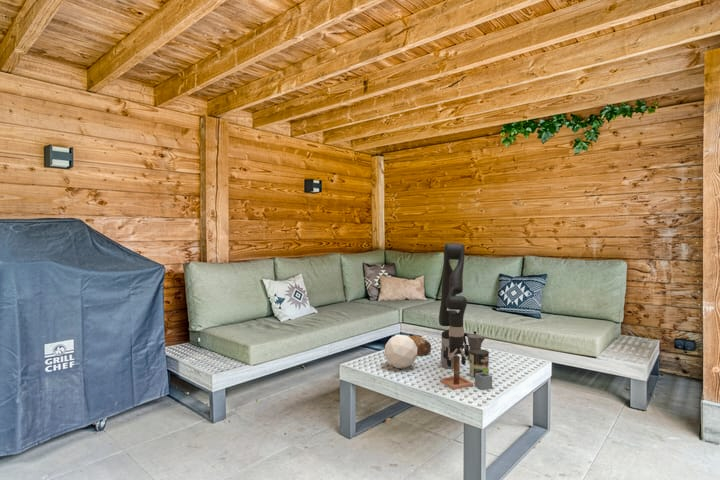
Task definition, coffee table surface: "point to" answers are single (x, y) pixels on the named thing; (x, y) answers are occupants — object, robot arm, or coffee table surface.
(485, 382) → the holder
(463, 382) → the tray
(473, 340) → the coffeepot
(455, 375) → the dowel
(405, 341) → the geometric orb
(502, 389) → the coffee table surface
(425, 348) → the petrified wood
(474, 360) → the coffee can
